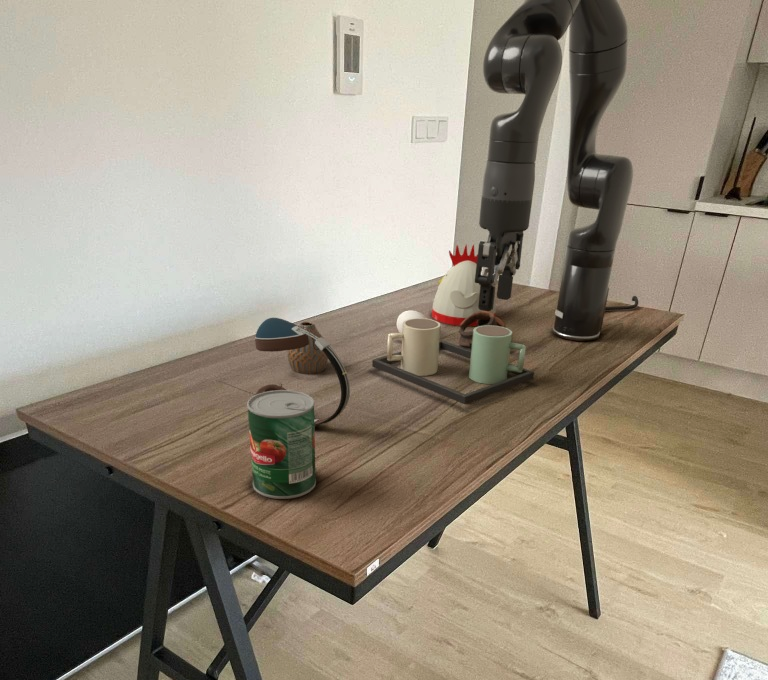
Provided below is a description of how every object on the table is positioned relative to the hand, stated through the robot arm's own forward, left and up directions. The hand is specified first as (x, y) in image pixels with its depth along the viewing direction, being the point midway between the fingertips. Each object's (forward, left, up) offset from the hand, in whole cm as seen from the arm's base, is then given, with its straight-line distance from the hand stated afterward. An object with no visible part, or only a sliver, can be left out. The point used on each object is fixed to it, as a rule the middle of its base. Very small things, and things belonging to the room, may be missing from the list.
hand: (494, 304), depth 113 cm
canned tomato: (+47, +7, -14) cm, 49 cm away
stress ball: (-7, -24, -14) cm, 29 cm away
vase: (+21, -22, -14) cm, 34 cm away
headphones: (+36, -9, -14) cm, 40 cm away
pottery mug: (-14, -12, -14) cm, 23 cm away
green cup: (-1, +1, -12) cm, 12 cm away
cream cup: (+8, -10, -12) cm, 18 cm away
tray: (+3, -5, -13) cm, 15 cm away
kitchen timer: (-27, -29, -14) cm, 42 cm away
